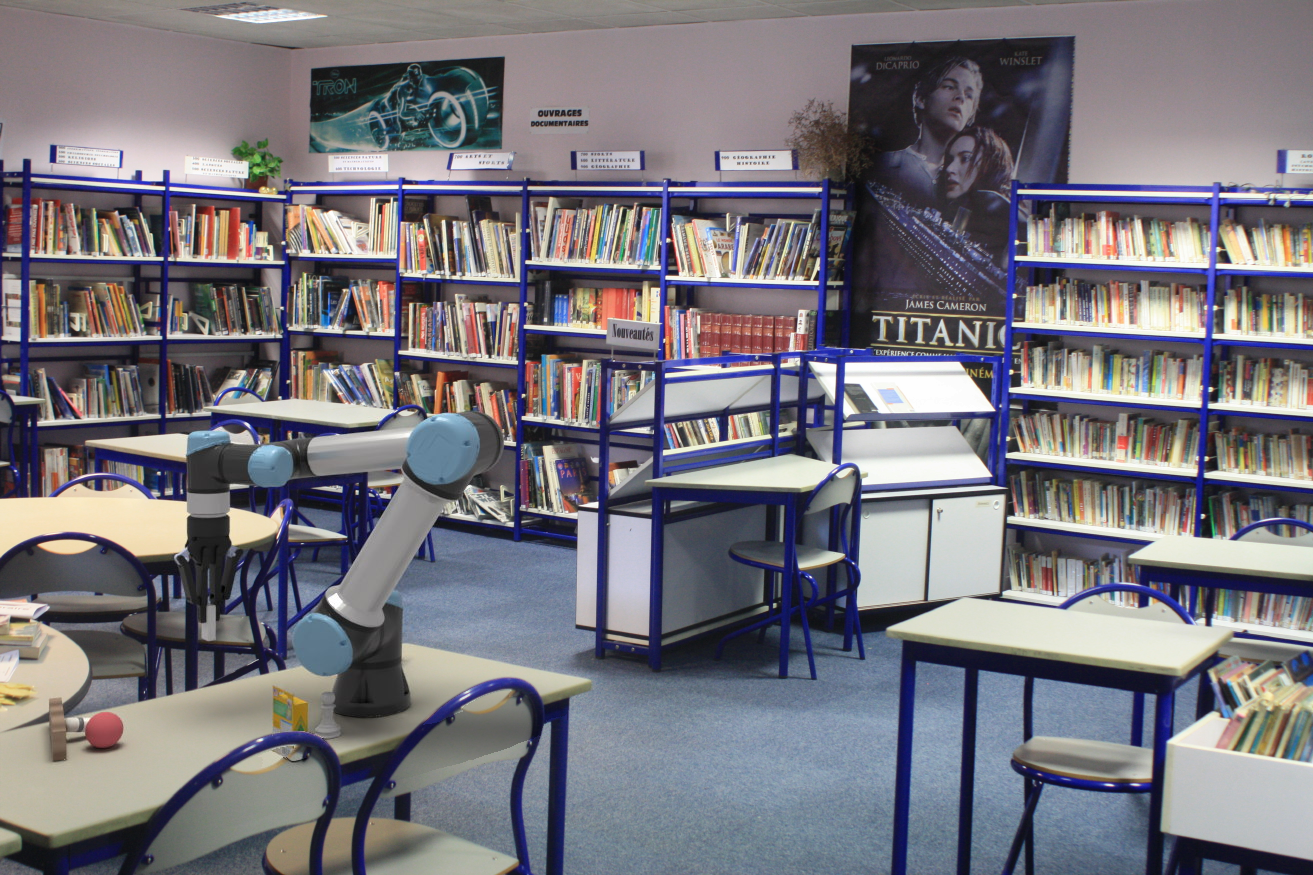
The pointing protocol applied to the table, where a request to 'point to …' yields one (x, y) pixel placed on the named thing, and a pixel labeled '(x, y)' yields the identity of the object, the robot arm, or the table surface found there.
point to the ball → (104, 729)
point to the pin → (76, 724)
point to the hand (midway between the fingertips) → (208, 638)
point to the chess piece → (328, 718)
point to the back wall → (57, 729)
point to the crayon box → (288, 716)
